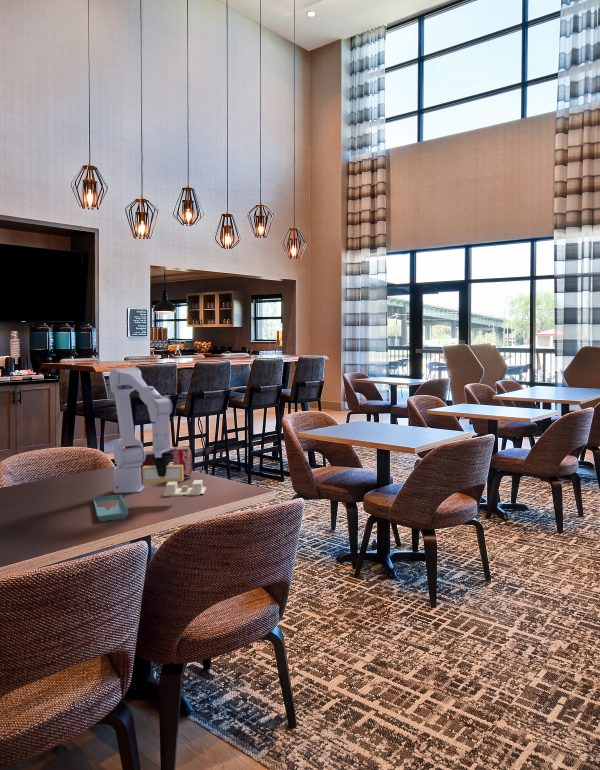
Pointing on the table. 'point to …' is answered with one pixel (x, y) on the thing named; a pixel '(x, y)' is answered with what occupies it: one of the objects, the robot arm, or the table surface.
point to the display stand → (184, 489)
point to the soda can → (183, 459)
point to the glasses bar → (172, 475)
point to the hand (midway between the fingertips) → (162, 475)
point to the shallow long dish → (111, 509)
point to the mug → (148, 460)
